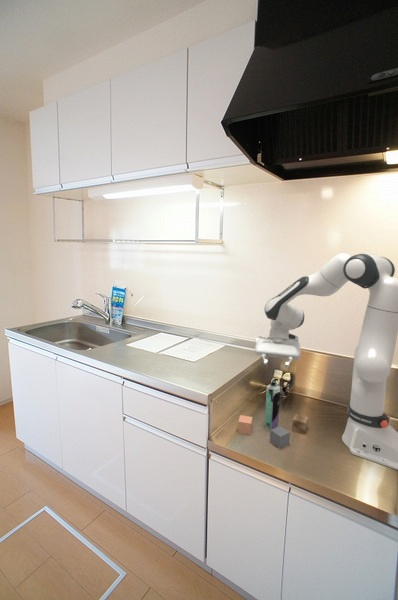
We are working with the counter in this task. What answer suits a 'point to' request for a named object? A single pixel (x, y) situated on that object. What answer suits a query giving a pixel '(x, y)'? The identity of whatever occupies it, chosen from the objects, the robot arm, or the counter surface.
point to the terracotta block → (245, 425)
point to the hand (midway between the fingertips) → (276, 365)
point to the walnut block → (300, 424)
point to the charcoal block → (279, 437)
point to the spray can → (272, 406)
